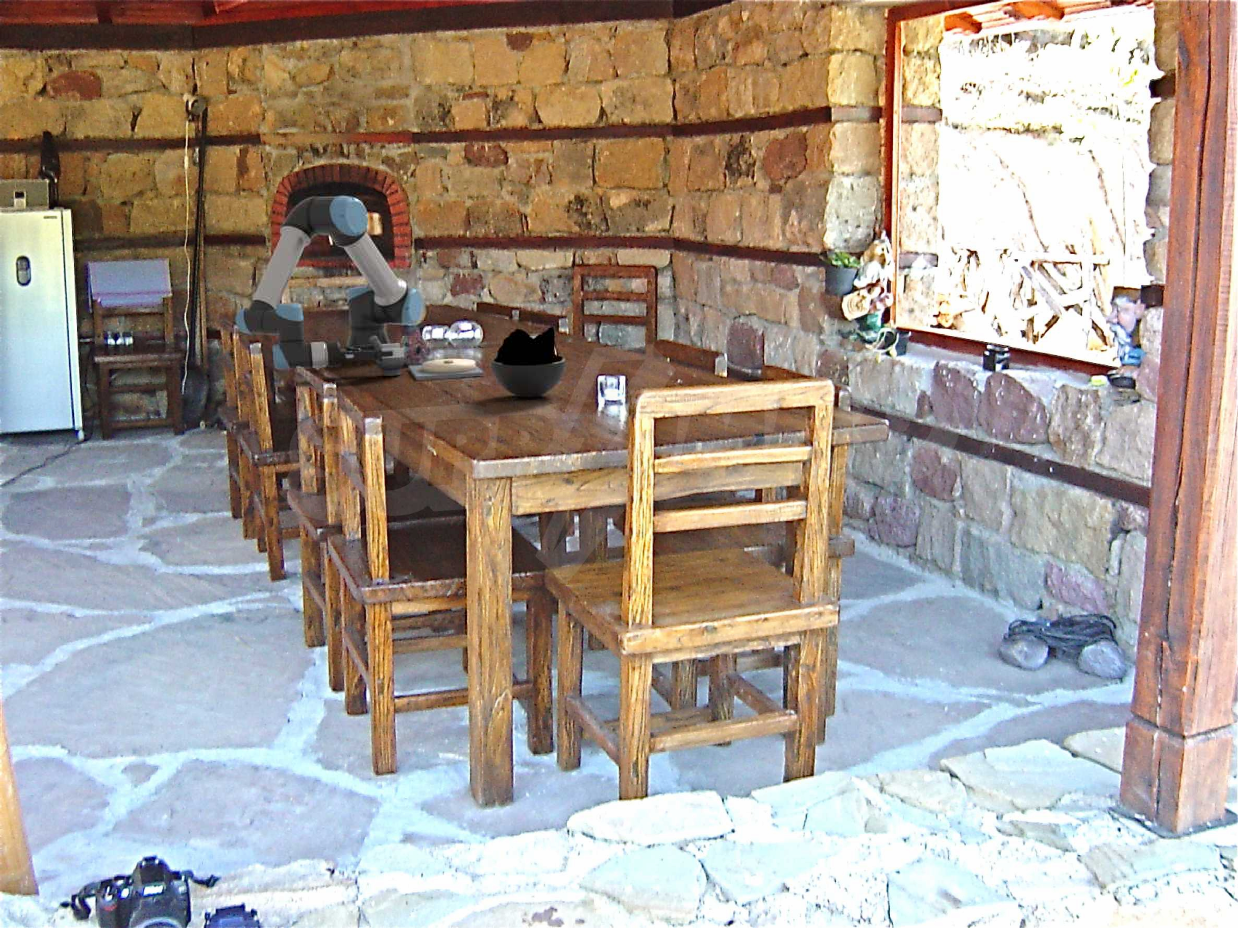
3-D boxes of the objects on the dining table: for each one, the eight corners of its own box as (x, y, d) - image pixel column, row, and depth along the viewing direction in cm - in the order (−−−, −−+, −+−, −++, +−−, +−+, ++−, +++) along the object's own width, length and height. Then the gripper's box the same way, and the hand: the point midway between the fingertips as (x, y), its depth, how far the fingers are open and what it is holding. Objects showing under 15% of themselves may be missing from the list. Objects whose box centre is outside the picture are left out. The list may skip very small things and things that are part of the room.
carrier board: (408, 369, 409) (408, 357, 409) (472, 365, 414) (472, 354, 414) (416, 380, 389) (416, 367, 388) (483, 376, 394) (483, 363, 393)
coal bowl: (485, 403, 349) (482, 332, 345) (501, 390, 368) (499, 323, 364) (559, 403, 346) (557, 332, 342) (572, 390, 366) (570, 323, 362)
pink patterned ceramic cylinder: (430, 360, 413) (407, 329, 413) (406, 380, 417) (383, 349, 417) (445, 354, 423) (423, 324, 423) (421, 374, 427) (399, 345, 427)
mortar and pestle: (401, 370, 405) (399, 331, 402) (412, 374, 397) (409, 334, 394) (366, 373, 399) (363, 334, 397) (376, 378, 391) (373, 337, 389)
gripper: (325, 361, 404) (398, 357, 409) (329, 372, 382) (406, 367, 388) (323, 337, 402) (397, 333, 407) (327, 347, 381) (405, 342, 386)
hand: (401, 350), depth 398 cm, fingers closed on mortar and pestle, 10 cm apart
